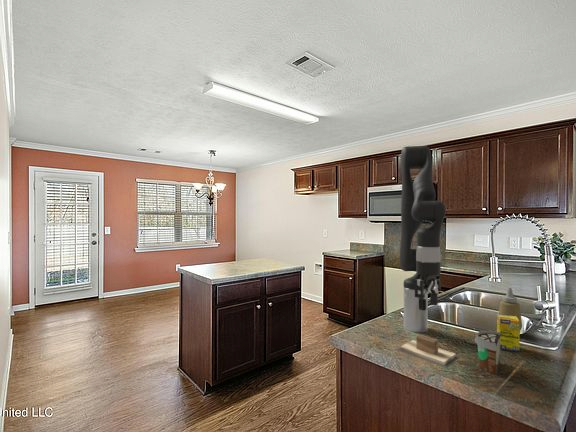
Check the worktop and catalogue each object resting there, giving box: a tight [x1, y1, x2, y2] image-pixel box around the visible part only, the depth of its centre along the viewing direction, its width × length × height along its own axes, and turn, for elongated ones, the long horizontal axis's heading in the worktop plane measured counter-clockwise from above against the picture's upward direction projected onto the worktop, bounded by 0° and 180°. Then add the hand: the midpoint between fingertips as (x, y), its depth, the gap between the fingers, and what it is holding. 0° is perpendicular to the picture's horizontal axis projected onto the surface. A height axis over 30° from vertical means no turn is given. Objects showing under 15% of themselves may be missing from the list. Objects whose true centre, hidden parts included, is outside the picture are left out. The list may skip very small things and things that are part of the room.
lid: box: [399, 334, 457, 365], centre depth 107 cm, size 9×15×5 cm, turn 41°
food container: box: [474, 330, 501, 376], centre depth 98 cm, size 12×6×10 cm, turn 141°
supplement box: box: [496, 313, 521, 353], centre depth 112 cm, size 6×6×11 cm
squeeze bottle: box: [498, 287, 523, 331], centre depth 126 cm, size 8×8×18 cm
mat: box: [395, 347, 461, 368], centre depth 107 cm, size 11×17×1 cm, turn 41°
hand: (428, 307), depth 106 cm, fingers open, 8 cm apart
